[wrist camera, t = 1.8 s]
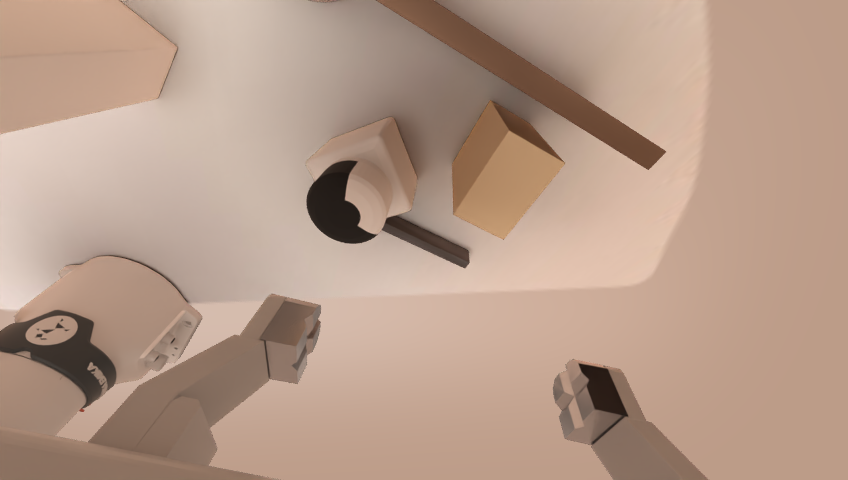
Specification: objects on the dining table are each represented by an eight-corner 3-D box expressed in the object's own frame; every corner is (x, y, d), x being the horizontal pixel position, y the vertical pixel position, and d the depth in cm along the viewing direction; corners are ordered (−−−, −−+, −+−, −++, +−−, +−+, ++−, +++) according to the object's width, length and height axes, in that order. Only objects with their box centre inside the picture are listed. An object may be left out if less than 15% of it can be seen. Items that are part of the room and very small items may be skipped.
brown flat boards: (463, 257, 39) (469, 352, 28) (317, 188, 35) (252, 265, 24) (578, 103, 29) (666, 151, 17) (390, -17, 25) (339, -61, 13)
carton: (531, 124, 30) (567, 164, 21) (490, 184, 34) (505, 240, 25) (490, 99, 29) (509, 130, 20) (452, 164, 33) (453, 214, 24)
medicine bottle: (360, 199, 36) (325, 263, 26) (329, 138, 32) (275, 186, 22) (418, 180, 34) (406, 241, 24) (393, 114, 31) (366, 154, 21)
